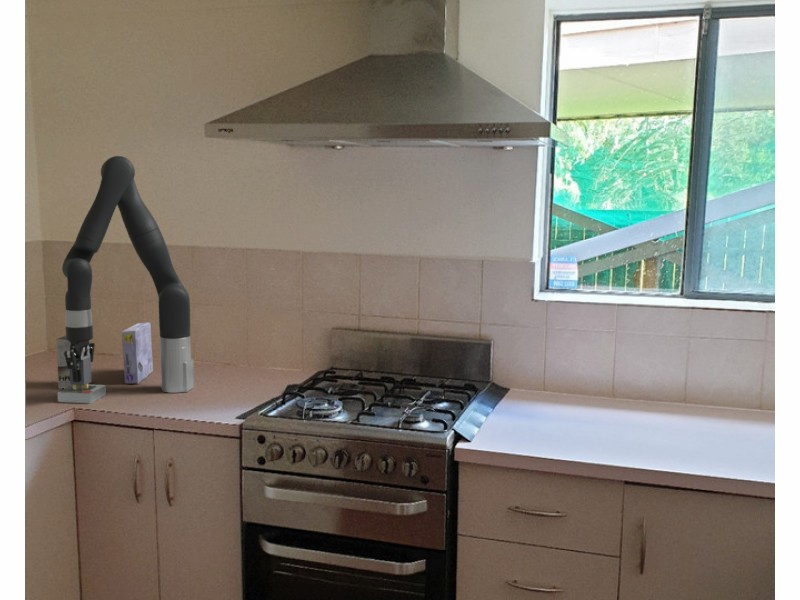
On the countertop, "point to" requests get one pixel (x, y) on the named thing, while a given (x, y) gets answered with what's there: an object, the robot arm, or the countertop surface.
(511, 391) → the countertop surface
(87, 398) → the socket
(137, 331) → the cake pan box
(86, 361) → the gray block
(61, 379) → the coffee box
